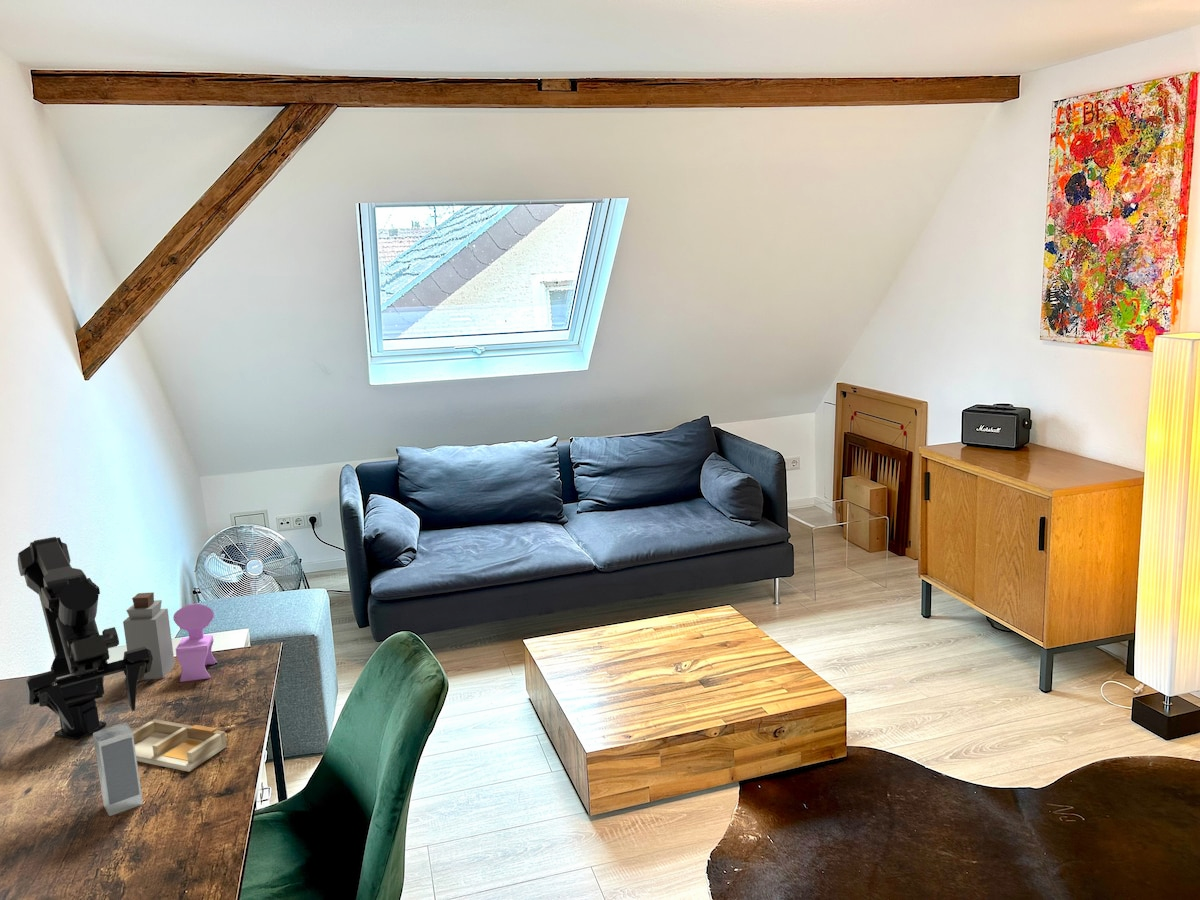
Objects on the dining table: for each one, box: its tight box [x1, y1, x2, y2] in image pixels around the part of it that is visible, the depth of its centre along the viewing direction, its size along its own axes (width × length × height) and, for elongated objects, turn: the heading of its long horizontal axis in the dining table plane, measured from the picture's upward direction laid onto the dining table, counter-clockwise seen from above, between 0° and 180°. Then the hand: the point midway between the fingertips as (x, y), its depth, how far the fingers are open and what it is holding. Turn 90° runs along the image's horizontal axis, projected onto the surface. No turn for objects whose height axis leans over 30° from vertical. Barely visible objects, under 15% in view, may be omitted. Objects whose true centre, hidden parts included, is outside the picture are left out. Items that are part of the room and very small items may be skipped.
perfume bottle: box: [122, 592, 176, 681], centre depth 200 cm, size 7×7×18 cm
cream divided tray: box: [132, 718, 227, 772], centre depth 166 cm, size 9×17×3 cm, turn 69°
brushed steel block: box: [92, 722, 144, 817], centre depth 148 cm, size 4×5×13 cm
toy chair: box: [173, 603, 218, 683], centre depth 199 cm, size 8×9×15 cm
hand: (103, 719), depth 152 cm, fingers open, 9 cm apart
